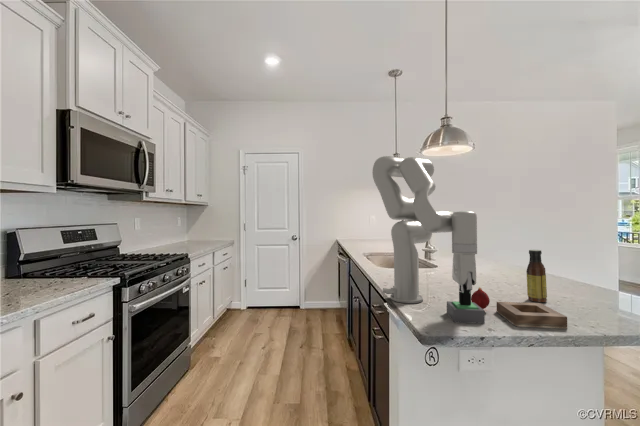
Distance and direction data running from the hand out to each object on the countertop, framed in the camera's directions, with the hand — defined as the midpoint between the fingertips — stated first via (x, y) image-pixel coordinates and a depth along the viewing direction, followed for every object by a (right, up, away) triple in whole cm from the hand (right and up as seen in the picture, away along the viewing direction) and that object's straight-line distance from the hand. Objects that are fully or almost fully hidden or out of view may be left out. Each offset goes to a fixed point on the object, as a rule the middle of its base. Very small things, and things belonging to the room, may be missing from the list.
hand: (465, 304), depth 100 cm
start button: (0, -3, 0) cm, 3 cm away
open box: (+20, -4, -2) cm, 20 cm away
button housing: (0, -5, 0) cm, 5 cm away
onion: (+9, -5, +8) cm, 13 cm away
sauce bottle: (+37, -5, +19) cm, 42 cm away
